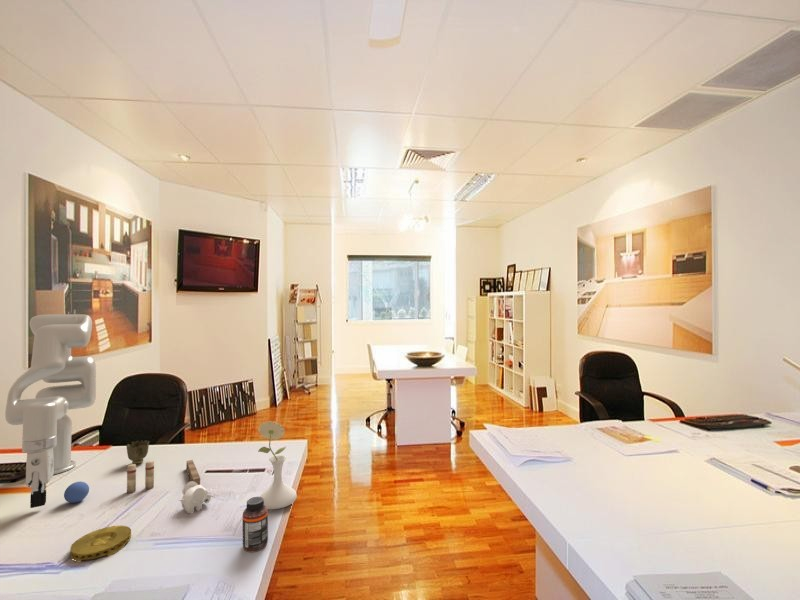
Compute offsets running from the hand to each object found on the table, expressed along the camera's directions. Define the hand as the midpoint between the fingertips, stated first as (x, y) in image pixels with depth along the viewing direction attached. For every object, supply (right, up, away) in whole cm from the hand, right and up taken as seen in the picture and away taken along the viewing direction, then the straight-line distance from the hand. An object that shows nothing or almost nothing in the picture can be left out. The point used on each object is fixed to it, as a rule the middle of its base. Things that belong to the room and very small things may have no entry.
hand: (38, 505), depth 113 cm
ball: (+7, +1, +5) cm, 9 cm away
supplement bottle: (+72, 0, -19) cm, 75 cm away
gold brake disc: (+33, -1, -18) cm, 38 cm away
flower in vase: (+71, -1, +3) cm, 71 cm away
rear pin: (+24, -2, +14) cm, 28 cm away
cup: (+5, -3, +36) cm, 36 cm away
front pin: (+20, -2, +12) cm, 23 cm away
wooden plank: (+34, -2, +22) cm, 41 cm away
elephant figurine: (+47, -1, +1) cm, 47 cm away
